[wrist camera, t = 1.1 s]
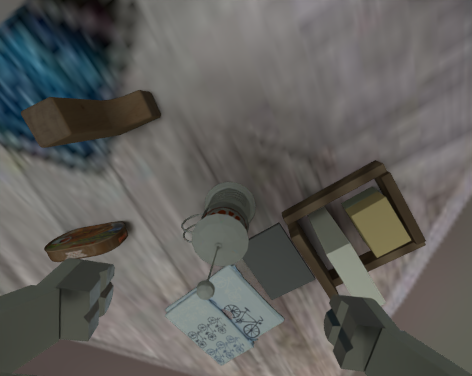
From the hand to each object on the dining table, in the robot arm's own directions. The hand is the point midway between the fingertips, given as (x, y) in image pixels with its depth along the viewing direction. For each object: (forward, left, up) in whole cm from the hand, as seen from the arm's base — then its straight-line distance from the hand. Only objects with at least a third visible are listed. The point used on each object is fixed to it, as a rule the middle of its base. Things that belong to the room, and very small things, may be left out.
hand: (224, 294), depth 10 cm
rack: (-8, +22, -38) cm, 45 cm away
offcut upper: (-11, +22, -35) cm, 43 cm away
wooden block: (+14, -16, -38) cm, 44 cm away
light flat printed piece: (+24, +28, -39) cm, 53 cm away
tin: (+35, -2, -38) cm, 52 cm away
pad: (+8, +22, -38) cm, 44 cm away
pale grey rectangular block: (-4, +22, -38) cm, 44 cm away
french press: (+10, +7, -38) cm, 40 cm away
